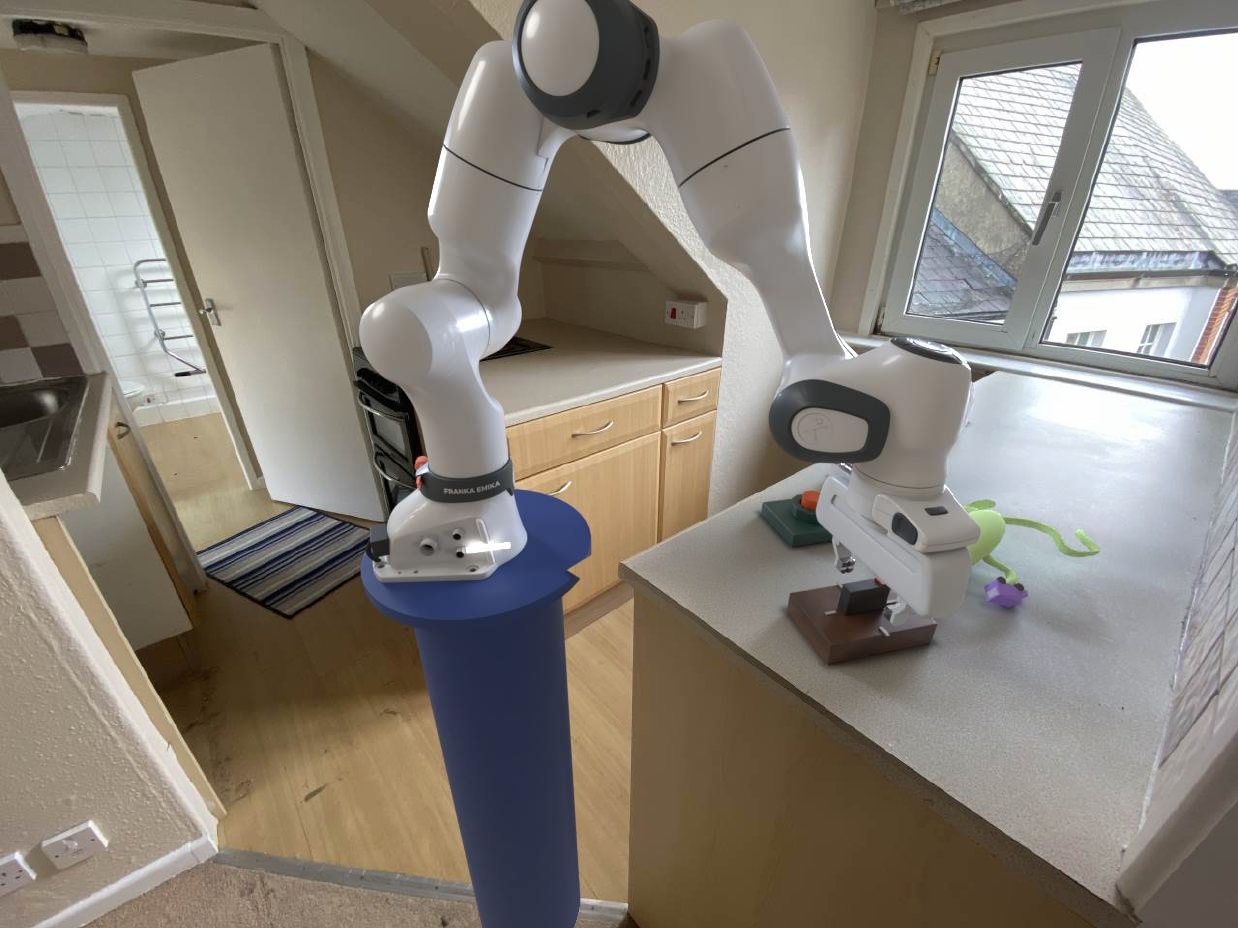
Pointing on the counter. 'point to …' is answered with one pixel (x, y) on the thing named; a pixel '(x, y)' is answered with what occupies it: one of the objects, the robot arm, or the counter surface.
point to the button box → (795, 522)
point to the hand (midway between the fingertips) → (867, 593)
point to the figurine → (992, 535)
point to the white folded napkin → (969, 406)
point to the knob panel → (853, 626)
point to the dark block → (863, 596)
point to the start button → (810, 499)
